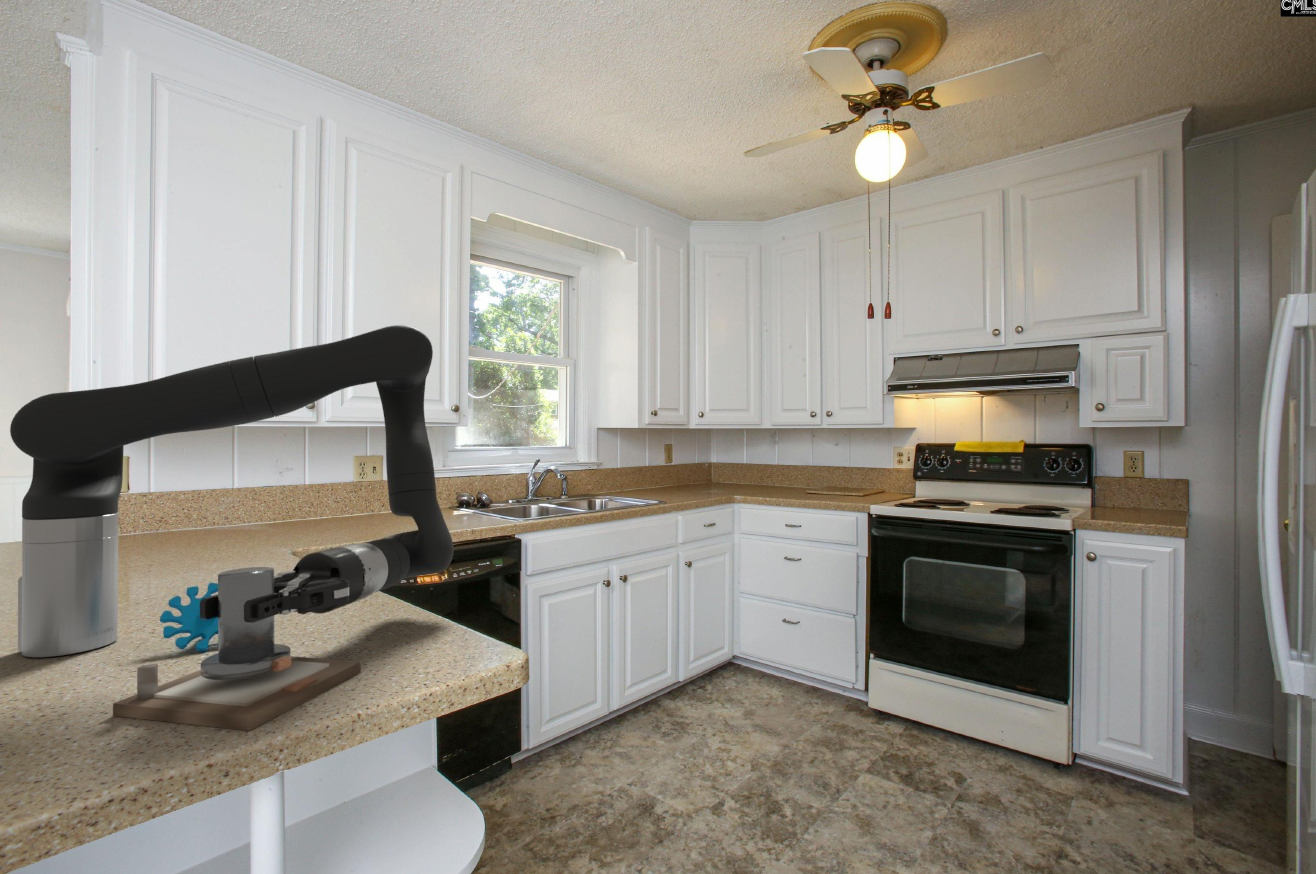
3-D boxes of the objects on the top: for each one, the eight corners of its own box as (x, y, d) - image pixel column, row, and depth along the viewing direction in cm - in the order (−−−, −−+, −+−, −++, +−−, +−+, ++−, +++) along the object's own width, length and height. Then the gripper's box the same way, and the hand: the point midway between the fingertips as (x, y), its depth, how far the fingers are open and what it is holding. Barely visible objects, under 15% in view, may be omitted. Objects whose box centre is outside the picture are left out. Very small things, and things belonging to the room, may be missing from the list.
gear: (151, 648, 76) (169, 579, 83) (150, 672, 79) (167, 604, 86) (258, 644, 82) (266, 580, 89) (253, 667, 85) (261, 604, 92)
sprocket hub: (180, 676, 63) (180, 578, 63) (248, 650, 71) (247, 563, 71) (252, 683, 61) (252, 582, 62) (313, 655, 69) (313, 565, 69)
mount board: (112, 715, 61) (112, 672, 61) (245, 662, 75) (245, 627, 75) (249, 730, 57) (249, 685, 57) (360, 672, 72) (360, 635, 72)
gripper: (295, 545, 82) (167, 572, 65) (391, 548, 79) (283, 577, 62) (295, 602, 82) (168, 643, 65) (391, 607, 79) (283, 652, 62)
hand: (225, 611), depth 64 cm, fingers closed on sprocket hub, 5 cm apart
